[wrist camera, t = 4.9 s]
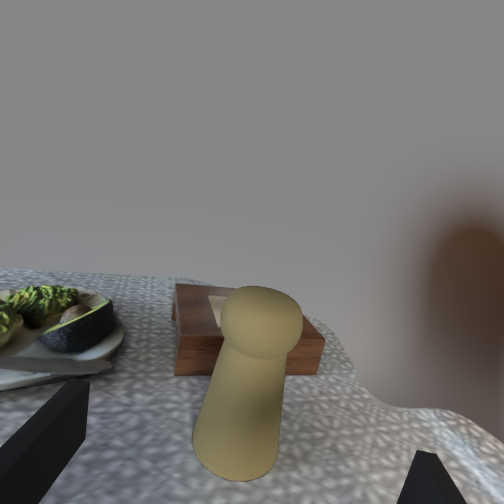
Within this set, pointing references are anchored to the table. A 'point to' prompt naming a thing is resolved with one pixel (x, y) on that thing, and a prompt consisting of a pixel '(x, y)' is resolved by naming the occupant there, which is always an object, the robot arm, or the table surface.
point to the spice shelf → (211, 338)
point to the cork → (247, 384)
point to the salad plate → (55, 334)
